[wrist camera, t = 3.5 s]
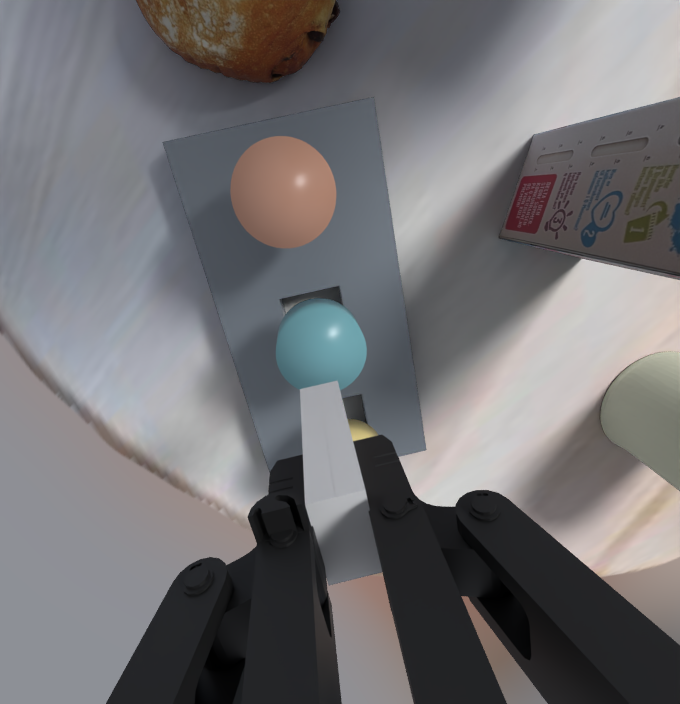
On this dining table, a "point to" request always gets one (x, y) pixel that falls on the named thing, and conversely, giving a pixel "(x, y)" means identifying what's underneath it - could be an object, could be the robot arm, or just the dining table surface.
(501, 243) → the dining table surface
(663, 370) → the can
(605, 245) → the juice carton
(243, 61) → the bread roll
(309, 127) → the button board
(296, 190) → the terracotta button
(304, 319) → the teal button
